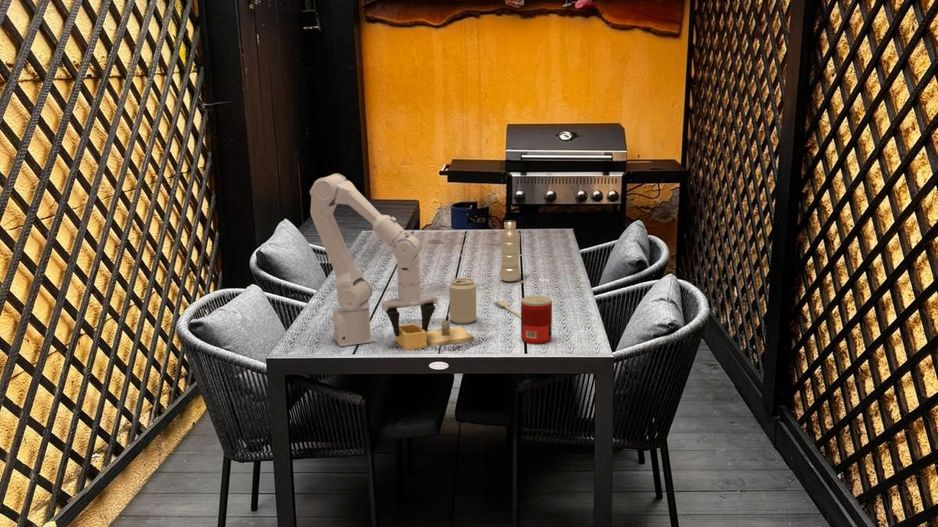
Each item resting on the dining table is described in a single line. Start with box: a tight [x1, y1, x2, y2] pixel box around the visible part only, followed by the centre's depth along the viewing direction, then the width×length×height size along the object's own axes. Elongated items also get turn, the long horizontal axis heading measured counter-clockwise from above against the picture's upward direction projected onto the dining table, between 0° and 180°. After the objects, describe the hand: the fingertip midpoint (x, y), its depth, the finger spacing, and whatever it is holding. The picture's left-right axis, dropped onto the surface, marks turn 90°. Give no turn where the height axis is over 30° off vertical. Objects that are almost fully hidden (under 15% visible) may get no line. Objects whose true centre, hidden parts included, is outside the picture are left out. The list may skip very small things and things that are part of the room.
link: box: [394, 322, 428, 351], centre depth 229 cm, size 6×8×4 cm
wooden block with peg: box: [426, 320, 475, 348], centre depth 233 cm, size 12×10×4 cm
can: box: [448, 277, 477, 325], centre depth 247 cm, size 8×8×12 cm
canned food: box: [520, 295, 553, 345], centre depth 230 cm, size 8×8×11 cm
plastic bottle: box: [499, 220, 521, 283], centre depth 289 cm, size 6×7×20 cm
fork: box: [491, 300, 521, 319], centre depth 257 cm, size 3×21×3 cm, turn 26°
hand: (410, 333), depth 229 cm, fingers open, 7 cm apart
